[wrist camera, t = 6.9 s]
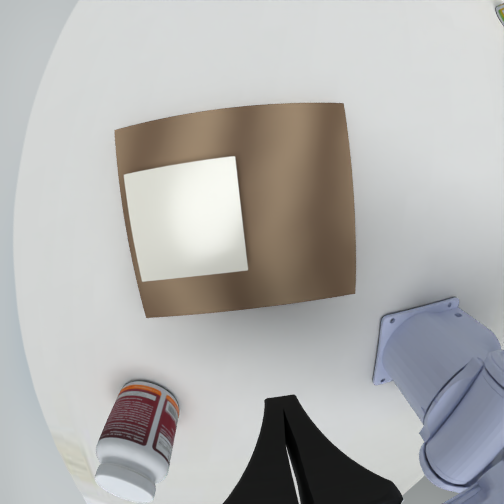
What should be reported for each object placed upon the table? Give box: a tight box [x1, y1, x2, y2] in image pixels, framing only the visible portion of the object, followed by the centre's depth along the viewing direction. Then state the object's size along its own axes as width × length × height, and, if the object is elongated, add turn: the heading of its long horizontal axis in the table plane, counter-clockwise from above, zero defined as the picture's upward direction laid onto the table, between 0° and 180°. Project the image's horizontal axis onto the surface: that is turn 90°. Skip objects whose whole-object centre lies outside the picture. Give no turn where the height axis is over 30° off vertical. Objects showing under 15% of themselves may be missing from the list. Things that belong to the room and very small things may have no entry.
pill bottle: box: [95, 381, 179, 503], centre depth 18 cm, size 6×6×11 cm
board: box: [115, 103, 356, 318], centre depth 19 cm, size 16×14×1 cm
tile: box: [124, 156, 248, 282], centre depth 17 cm, size 2×7×7 cm
